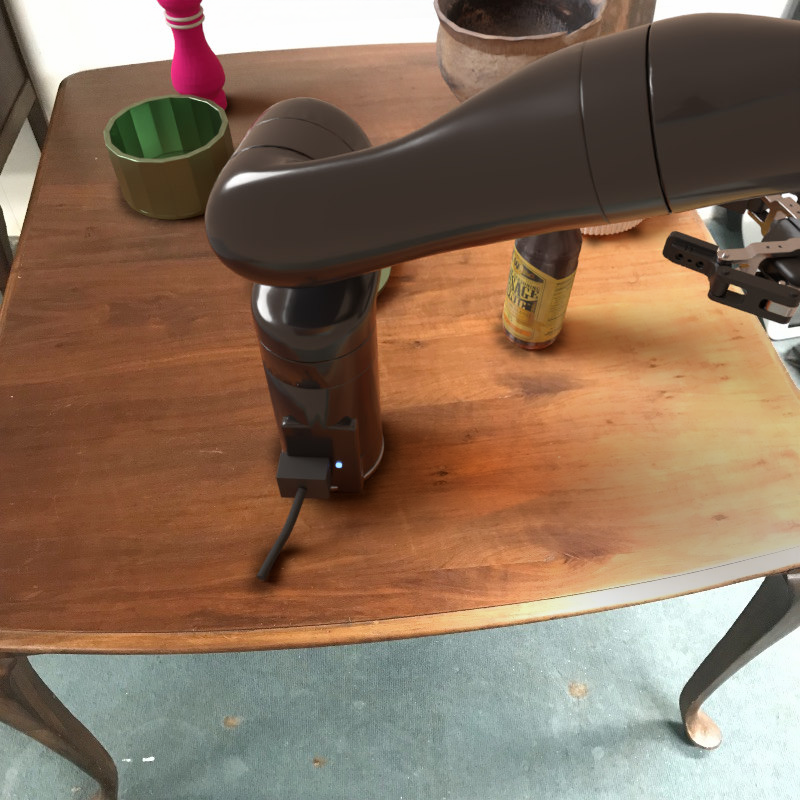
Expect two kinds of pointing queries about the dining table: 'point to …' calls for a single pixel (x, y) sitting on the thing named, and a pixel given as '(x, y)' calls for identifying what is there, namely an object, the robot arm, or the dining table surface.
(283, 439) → the robot arm
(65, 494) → the dining table surface
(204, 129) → the pot
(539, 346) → the sauce bottle
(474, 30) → the ceramic bowl
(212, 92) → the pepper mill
